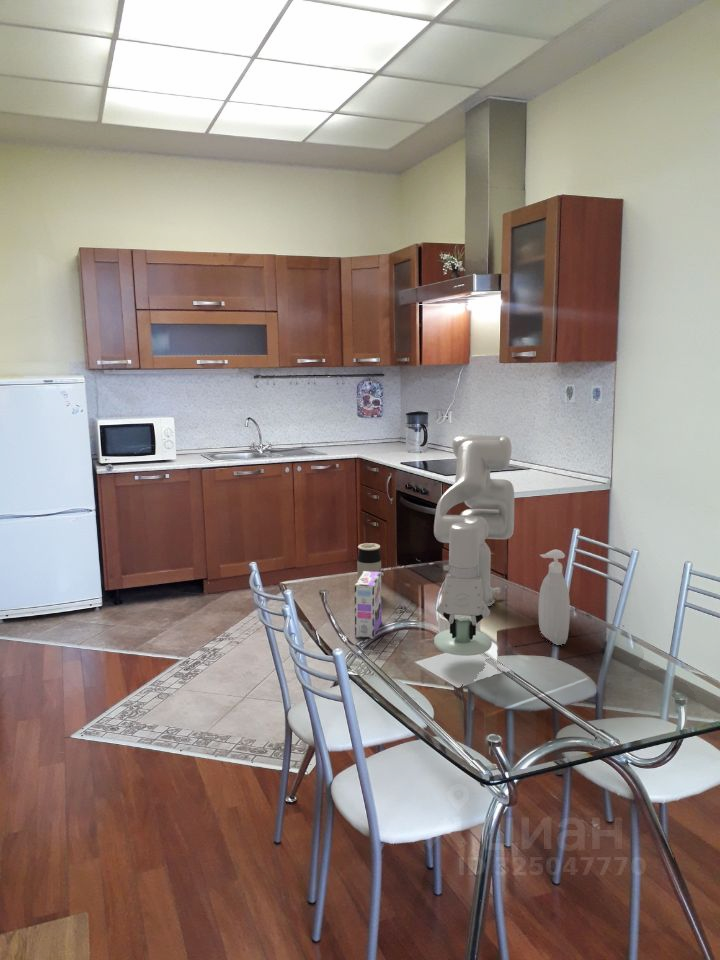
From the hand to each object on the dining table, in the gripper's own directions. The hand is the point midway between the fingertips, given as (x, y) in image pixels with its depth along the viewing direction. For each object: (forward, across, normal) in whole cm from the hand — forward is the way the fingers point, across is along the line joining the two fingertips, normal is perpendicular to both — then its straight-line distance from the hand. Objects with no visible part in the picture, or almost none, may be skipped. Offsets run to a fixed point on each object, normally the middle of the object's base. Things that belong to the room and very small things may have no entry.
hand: (462, 636), depth 194 cm
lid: (+2, 0, 0) cm, 2 cm away
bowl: (+9, -3, +22) cm, 24 cm away
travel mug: (+10, -35, +49) cm, 61 cm away
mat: (+9, 0, -1) cm, 9 cm away
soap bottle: (+9, +23, +22) cm, 34 cm away
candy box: (+9, -30, +20) cm, 37 cm away
